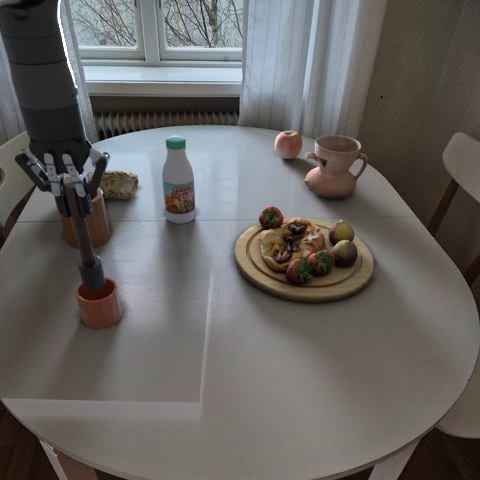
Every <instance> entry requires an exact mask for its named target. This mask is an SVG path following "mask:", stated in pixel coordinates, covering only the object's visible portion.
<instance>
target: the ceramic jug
mask: <svg viewBox="0 0 480 480" xmlns="http://www.w3.org/2000/svg"><path fill="white" fill-rule="evenodd" d="M361 149H362V144H361V142H360V141H359V140H357V139H356V138H354V137H351V136H347V135H341V134H325V135H321V136H319V137H317V138H316V139H315V142H314V152H312V151H309V152H307V153H305V154H304V155H305V158H306V160H311V159H312V160H314V161H315V162H317V165H318V166H316V167H314V168H313V169H311V170H310V171H308V173H307V174H306V177H305V179H304V184H305V186H306V187H307V189H308V191H310V192H311V193H312V194H315V195H317V196H319V197H321V198H326V199H340V198H341V199H342V198H344V197H347V196H350V195H351V194H353V193H354V192H355V190H356V189H357V184H358V182H357V181H358V179H359V178H360V177H361V176H362V175H363V173H364V171H365V170H366V168H367V166H368V162H369V159H368V156H367V154H366V153H363V152H361ZM359 159H361V160H362V161H361V164H360V167H359V168H358V170H357V171H356V173H355V174H353V173H352V172H351V171H350V169H351V168H352V166H353V164H354V163H355V162H356V161H357V160H359Z"/></svg>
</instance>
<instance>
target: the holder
mask: <svg viewBox="0 0 480 480" xmlns="http://www.w3.org/2000/svg"><path fill="white" fill-rule="evenodd" d="M105 279H106V285H105V287H104V288H102V289H100V290H97V291H88V290H86V289H85V288H84V287H83V283H82V281H81V282H80V283H79V284H77V286H76V288H75V289H74V294H75V298H76V300H77V304H78V305H77V306H78V307H79V308H78V309H79V312H80V314H81V318H82V321H83V323H84V324H85V325H86V326H88V327H89V328H93V329H105V328H109V327H112V326H114V325H115V324H117V323H118V322H119V321H120V319H122V316H123V306H122V302H121V297H120V291H119V287H118V284H117V282H116V281H115V280H114V279H112V278H110V277H107V276H105Z"/></svg>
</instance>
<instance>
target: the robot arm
mask: <svg viewBox="0 0 480 480" xmlns="http://www.w3.org/2000/svg"><path fill="white" fill-rule="evenodd" d="M60 2H61V0H0V39H1V41H2V45H3V48H4V49H3V50H4V52H5V55H6V59H7V63H8V66H9V73H10V78H11V83H12V86H13V90H14V94H15V97H16V100H17V104H18V107H19V110H20V114H21V117H22V121H23V123H24V127H25V130H26V134H27V136H28V138H29V142H28V148H27V149H25V148H22V149H21V150H20V151H19V152H18V153H17V154H16V155H15V157H14V161H15V163H16V164H17V165H18V167H20V169H21V170H22V171H23V173H25V174H26V176H27V177H28V178H29V179H30V180H31V181H32V183H34V185H35V186H36V187H37V189H39V191H40V192H43V193H46V192H47V193H51V194H52V195H53V196H54V200H55V199H56V202H57V206H58V209H59V212H60V213H61V214H63V215H64V217H67V218H69V217H70V213H69V210H68V206H67V202H66V198H65V195H64V191H63V185H64V184H65V181H64V178H65V174H67V175H68V176H70V179H71V181H72V183H74V186H75V188H76V191H77V194H78V197H77V200H78V204H79V208H80V212H81V216H82V218H88V216H89V215H90V213H91V211H92V208H93V207H92V203H91V198H90V193H92V194H95V193H96V192H97V189H98V187H99V186H100V184H101V181H102V178H103V176H104V173H105V171H107V167H108V165H109V162H110V159H111V155H110V153H109V152H107V151H104V152H100V151H98V150H96V149H94V148H93V147H92V144H91V142H90V141H89V139H88V138H87V134H86V129H85V124H84V118H83V114H82V109H81V104H80V100H79V90H78V86H77V85H76V81H75V76H74V72H73V70H72V67H71V63H70V61H69V57H68V50H67V46H66V41H65V38H64V33H63V28H62V25H61V19H60V4H61V3H60ZM89 158H90V159H91V166H92V167H93V168H94V171H93V172H94V174H93V177H92V179H91V182H88V180H87V177H86V172H87V169H86V167H85V165H86V163H87V160H88V159H89ZM38 161H39V162H40V164H42V165H43V167H45V168H46V171H45V169H44V168H42V166H41V165H40V164H39V163H38ZM56 202H55V203H56ZM57 206H56V207H57ZM58 209H57V210H58Z"/></svg>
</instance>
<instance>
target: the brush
mask: <svg viewBox="0 0 480 480" xmlns="http://www.w3.org/2000/svg"><path fill="white" fill-rule="evenodd" d="M63 191H64V195H65V198H66V202H67V206H68V210H69V213H70V217H71V221H72V225H73V228H74V232H75V236H76V240H77V244H78V247H79V248H78V251H79V254H80V258H79V259H78V260H77V262H76V266H77V268H78V272H79V275H80V279H81V282H82V283H83V287H84V288H85V289H86V290H88V291H97V290H100V289H102V288H104V287H105V285H106V279H105V277H106V276H105V270H104V265H103V262H102V258H101V257H99V256H98V255H95V251H94V248H93V247H92V243H91V239H90V235H89V230H88V226H87V222H86V218H82V216H81V212H80V208H79V204H78V200H77V197H78V194H77V191H76V188H75V186H74V183H72V182H70V183H66V184H64V185H63Z"/></svg>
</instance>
